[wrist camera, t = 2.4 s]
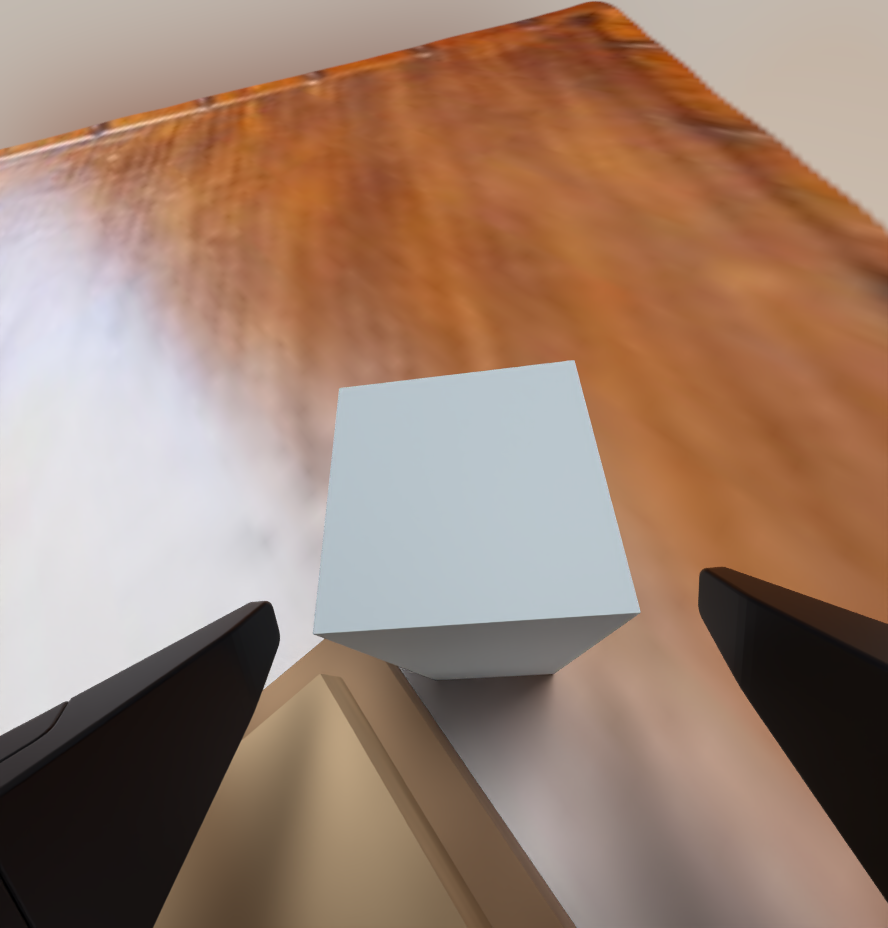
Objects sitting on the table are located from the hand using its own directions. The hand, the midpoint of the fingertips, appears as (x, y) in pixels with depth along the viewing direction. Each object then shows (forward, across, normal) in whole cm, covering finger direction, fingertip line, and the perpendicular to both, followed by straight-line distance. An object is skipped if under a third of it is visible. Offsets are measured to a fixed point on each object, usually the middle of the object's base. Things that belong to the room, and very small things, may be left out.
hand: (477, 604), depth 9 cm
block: (+7, 0, +5) cm, 9 cm away
